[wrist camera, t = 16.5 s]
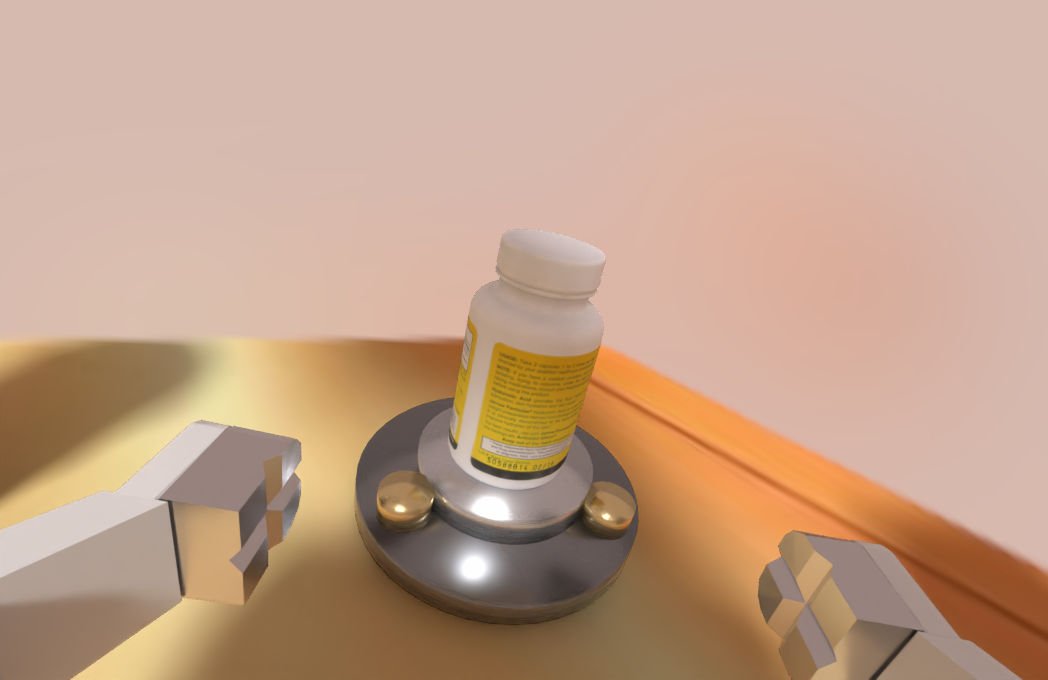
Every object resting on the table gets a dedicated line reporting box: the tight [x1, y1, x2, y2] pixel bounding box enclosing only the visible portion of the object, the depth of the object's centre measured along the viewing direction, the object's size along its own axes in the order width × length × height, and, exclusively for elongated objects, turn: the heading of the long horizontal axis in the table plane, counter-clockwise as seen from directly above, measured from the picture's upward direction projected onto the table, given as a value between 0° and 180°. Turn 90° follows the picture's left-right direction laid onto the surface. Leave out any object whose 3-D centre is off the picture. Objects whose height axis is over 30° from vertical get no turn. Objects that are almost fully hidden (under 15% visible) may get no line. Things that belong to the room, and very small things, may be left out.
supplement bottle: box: [448, 229, 606, 490], centre depth 20 cm, size 5×5×10 cm
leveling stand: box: [355, 398, 638, 625], centre depth 23 cm, size 13×13×3 cm
